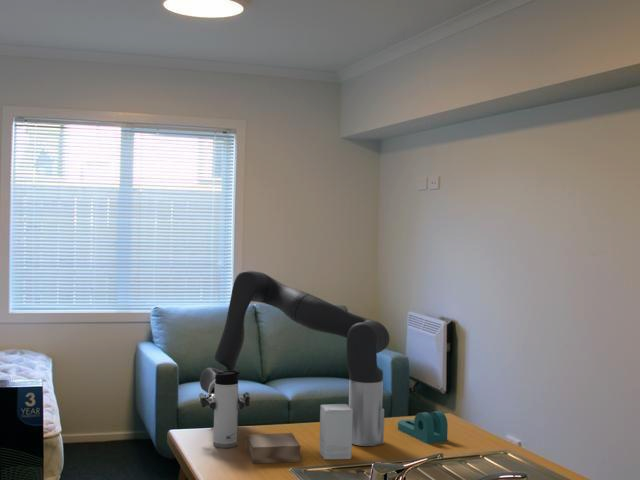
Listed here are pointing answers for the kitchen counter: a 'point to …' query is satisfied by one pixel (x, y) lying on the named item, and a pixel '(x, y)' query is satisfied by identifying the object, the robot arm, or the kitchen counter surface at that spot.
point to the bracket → (426, 427)
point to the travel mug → (226, 409)
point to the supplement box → (335, 431)
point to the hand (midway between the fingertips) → (227, 405)
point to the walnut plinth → (273, 448)
